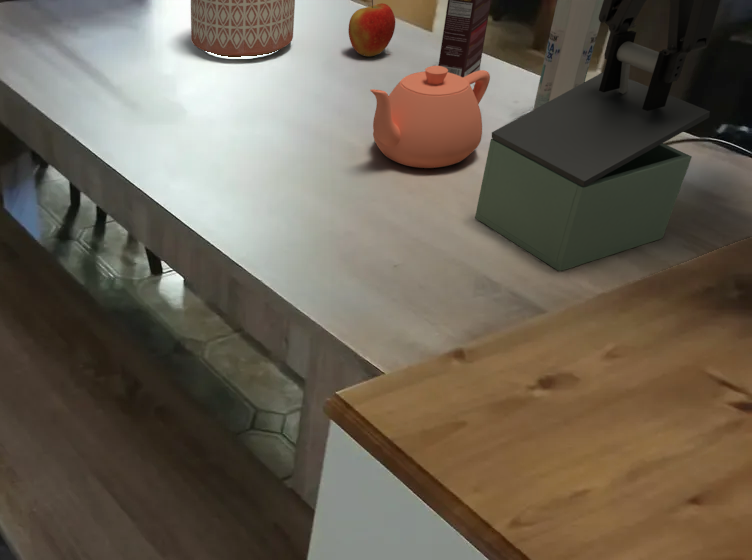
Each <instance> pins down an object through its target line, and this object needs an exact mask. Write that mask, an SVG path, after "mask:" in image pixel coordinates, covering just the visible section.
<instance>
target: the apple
mask: <svg viewBox="0 0 752 560" xmlns="http://www.w3.org/2000/svg"><path fill="white" fill-rule="evenodd" d="M395 30H396V17H395V14H394V12H393V10H392V7H390V6H389V5H388V4H387V3H383V2H382V3H376V4H374V0H371V6H366V7H363V8H358V9H357V10H356V11H354V13H352V15H351V16H350V19H349V23H348V37H349V38H348V39H349V42H350V44H351V46H352V48H353V49H354V51H355V52H356V53H357V54H358V55H361V56H363V57H375V56H377V55H380V54H381V53H383V52H384V50H386V48H387V47H388V45H389V44H390V42H391V41H392V39H393V36H394V33H395Z"/></svg>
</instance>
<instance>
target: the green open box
mask: <svg viewBox="0 0 752 560" xmlns="http://www.w3.org/2000/svg"><path fill="white" fill-rule="evenodd" d="M691 160H692V155H690V154H688V153H685V152H684V151H681V150H679V149H676V148H675V147H672V146H670V145H668V144H665V143H662V144H660V145H659V146H657V147H655V148H653V149H651V150H650V151H648V152H646V153H644V154H642V155H641V156H639V157H637V158H635V159H633V160H632V161H630V162H628V163H626V164H624V165H623V166H621V167H619V168H617V169H615V170H614V171H612V172H610V173H608V174H606V175H605V176H603V177H601V178H599V179H597V180H596V181H594V182H592V183H590V184H588V185H587V186H585V187H583V186H581V185H579V184H577V183H575V182H573V181H571V180H570V179H568V178H566V177H564V176H562V175H560V174H558V173H556V172H555V171H553V170H551V169H549V168H547V167H545V166H543V165H541V164H540V163H538V162H536V161H534V160H532V159H530V158H528V157H526V156H525V155H523V154H521V153H519V152H517V151H515V150H513V149H511V148H510V147H508V146H506V145H504V144H502V143H500V142H498V141H496V140H495V139H493V138H491V139H490V142H489V147H488V152H487V157H486V162H485V166H484V171H483V176H482V181H481V186H480V191H479V195H478V201H477V205H476V210H475V215H474V219H476V220H478V222H481V223H483V225H485V226H487V227H489V228H490V229H492V230H494V231H495V232H497V233H498V234H500V235H501V236H503V237H504V238H506V239H508V240H509V241H511V242H512V243H514V244H515V245H517V246H518V247H520V248H522V249H523V250H525V251H526V252H528V253H530V254H531V255H533V256H534V257H536V258H538V259H539V260H541V261H542V262H543V263H545V264H547V265H549V266H550V267H552V268H554V269H555V270H556V271H557V272H561V271H562V272H563V271H566V270H568V269H572V268H575V267H577V266H581V265H584V264H587V263H590V262H594V261H597V260H600V259H602V258H606V257H609V256H612V255H615V254H618V253H621V252H625V251H627V250H630V249H634V248H637V247H641V246H643V245H647V244H650V243H652V242H655V241H658V240H662V239H664V235H665V233H666V230H667V227H668V225H669V221H670V219H671V216H672V213H673V210H674V207H675V205H676V201H677V199H678V196H679V193H680V190H681V188H682V185H683V182H684V180H685V177H686V174H687V171H688V169H689V166H690V163H691Z"/></svg>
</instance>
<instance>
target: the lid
mask: <svg viewBox="0 0 752 560" xmlns="http://www.w3.org/2000/svg"><path fill="white" fill-rule="evenodd" d="M659 52H660V51H657V50H654V49H652V48H649V47H645V46H643V45H640V44H637V43H636V42H634V43H632V42H630V41H627V42H625V43H623V44H622V45H621V46H620V48H619V49H618V52H617V59H618V60H619V61H621V62H622V67H621V78H620V88H619V89H615V90H611V91H607V92H601V91H599V88H600V84H601V81H602V77H603V73H604V71H602V72H600V73H599V74H597V75H594V76H593V77H591V78H589V79H587V80H585V82H584V83H582V84H580V85H578V86H577V87H575V88H573V89H571V90H569V91H567V92H566V93H564V94H562V95H560V96H558V97H556V98H554V99H553V100H551V101H549V102H547V103H545V104H543V105H541V106H540V107H538V108H536V109H534V110H533V109H532V110H530V111H529V112H527V113H525V114H523V115H521V116H519V117H517V118H516V119H514V120H512V121H510V122H508V123H506V124H504V125H503V126H501V127H499V128H497V129H496V130H493V131H492V132H491V139H495V140H496V141H498V142H500V143H502V144H504V145H506V146H508V147H510V148H511V149H513V150H515V151H517V152H519V153H521V154H523V155H525V156H526V157H528V158H530V159H532V160H534V161H536V162H538V163H540V164H541V165H543V166H545V167H547V168H549V169H551V170H553V171H555V172H556V173H558V174H560V175H562V176H564V177H566V178H568V179H570V180H571V181H573V182H575V183H577V184H579V185H581V186H583V187H585V186H587V185H588V184H590V183H592V182H594V181H596V180H597V179H599V178H601V177H603V176H605V175H606V174H608V173H610V172H612V171H614V170H615V169H617V168H619V167H621V166H623V165H624V164H626V163H628V162H630V161H632V160H633V159H635V158H637V157H639V156H641V155H642V154H644V153H646V152H648V151H650V150H651V149H653V148H655V147H657V146H659V145H660V144H662V143H663V144H665V143H666V142H668V141H669V140H671V139H673V138H675V137H677V136H678V135H680V134H682V133H684V132H686V131H687V130H689V129H691V128H693V127H695V126H697V125H698V124H700V123H702V122H703V121H705V120H707V119H709V118H710V112H711V111H710V110H707V109H706V108H702V107H700V106H697V105H695V104H692V103H690V102H688V101H685V100H683V99H681V98H678V97H675V96H673V95H670V94H669V95H668V98H667V101H666V104H665V106H664V107H661V108H657V109H653V110H650V111H646V110H643V109H642V108H643V105H644V101H645V98H646V95H647V91H648V88H649V85H646V84H643V83H641V82H638V81H636V80H633V79H632V78H631V79H630V72H631V71H630V70H631V66H632V67H635V68H638V69H639V70H642V71H645V72H647V73H649V74H652V75H653V72H654V68H655V65H656V62H657V58H658V55H659Z"/></svg>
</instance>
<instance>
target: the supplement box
mask: <svg viewBox="0 0 752 560" xmlns="http://www.w3.org/2000/svg"><path fill="white" fill-rule="evenodd" d="M491 4H492V0H447V5H446V11H445V18H444V25H443V32H442V39H441V44H440V52H439V58H438V65H437V66H442V67H445V68H447V69H448V72H449V73H453V74H456V75H458V76H461V77H465V76H467V75H469V74H471V73H473V72H476V71H479V70H481V62H482V57H483V51H484V47H485V46H484V44H485V38H486V33H487V28H488V22H489V15H490V9H491Z"/></svg>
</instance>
